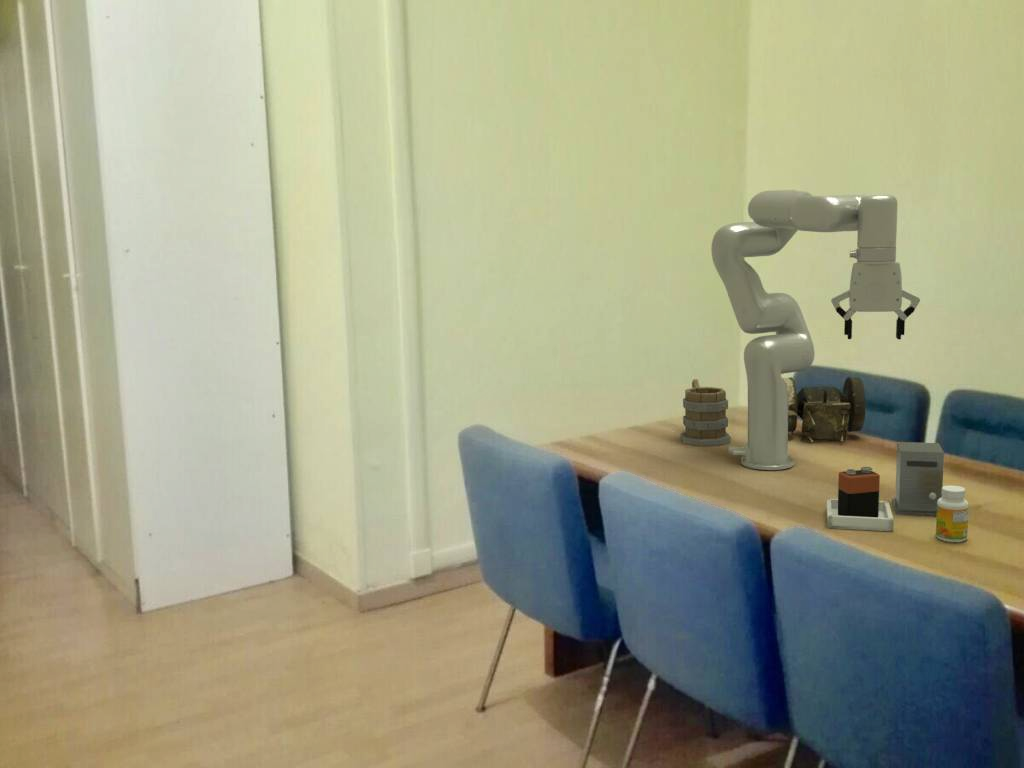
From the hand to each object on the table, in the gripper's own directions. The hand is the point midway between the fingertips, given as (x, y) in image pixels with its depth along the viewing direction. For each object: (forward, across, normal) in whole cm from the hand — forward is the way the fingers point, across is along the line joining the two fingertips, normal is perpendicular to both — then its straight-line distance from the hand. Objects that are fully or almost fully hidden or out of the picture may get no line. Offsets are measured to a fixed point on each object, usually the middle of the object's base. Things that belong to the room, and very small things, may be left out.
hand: (873, 338), depth 205 cm
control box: (+34, +9, -7) cm, 36 cm away
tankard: (+35, -40, +50) cm, 73 cm away
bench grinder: (+35, -9, +54) cm, 65 cm away
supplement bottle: (+34, +13, -25) cm, 45 cm away
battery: (+34, -3, -17) cm, 38 cm away
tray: (+34, -3, -17) cm, 38 cm away
